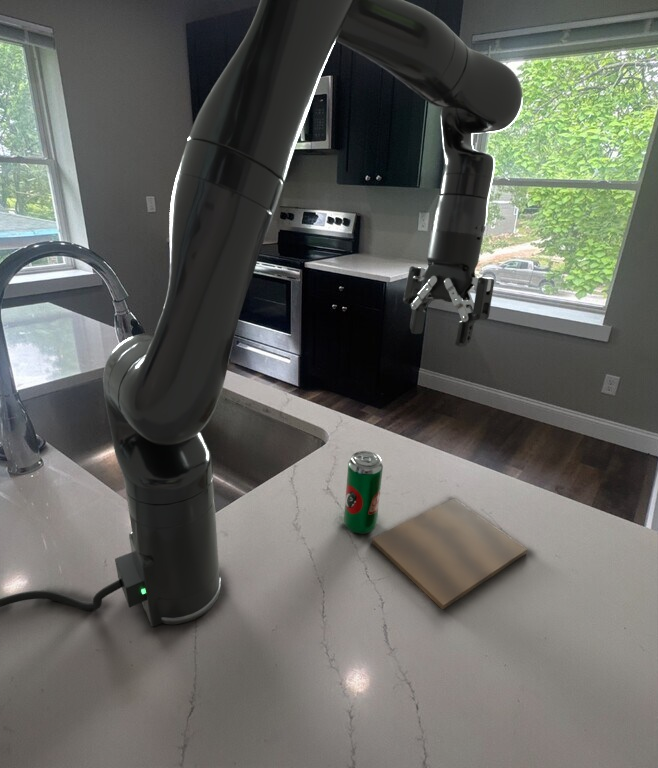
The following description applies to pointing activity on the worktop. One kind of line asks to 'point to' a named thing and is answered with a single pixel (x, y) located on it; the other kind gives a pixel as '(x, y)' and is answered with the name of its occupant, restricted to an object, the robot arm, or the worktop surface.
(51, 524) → the worktop surface
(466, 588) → the wooden board
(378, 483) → the soda can
